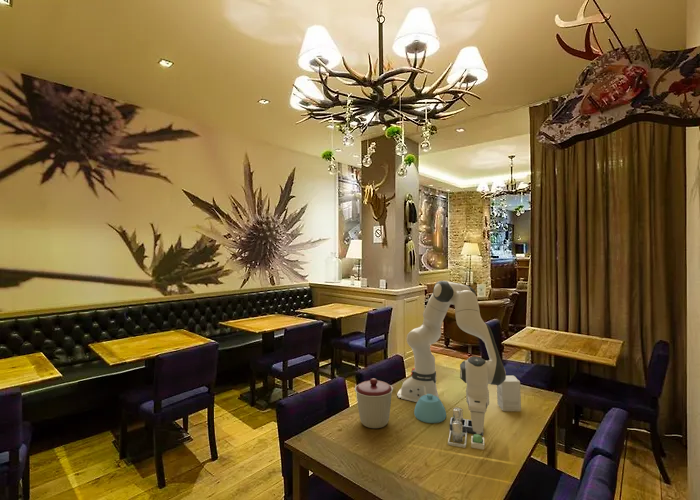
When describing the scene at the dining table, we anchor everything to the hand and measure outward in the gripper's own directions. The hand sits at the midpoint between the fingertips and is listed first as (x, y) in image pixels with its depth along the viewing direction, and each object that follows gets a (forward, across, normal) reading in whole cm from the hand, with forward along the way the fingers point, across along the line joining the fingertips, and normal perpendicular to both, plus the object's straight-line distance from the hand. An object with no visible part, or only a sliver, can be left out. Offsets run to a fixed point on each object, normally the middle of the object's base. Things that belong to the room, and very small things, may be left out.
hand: (478, 432), depth 145 cm
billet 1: (+5, -12, -9) cm, 16 cm away
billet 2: (+6, -1, -8) cm, 10 cm away
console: (+6, 0, 0) cm, 6 cm away
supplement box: (+6, -43, +14) cm, 46 cm away
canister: (+6, -6, -46) cm, 47 cm away
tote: (+6, -1, -8) cm, 10 cm away
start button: (+4, 0, 0) cm, 4 cm away
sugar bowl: (+6, -19, -22) cm, 30 cm away
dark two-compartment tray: (+6, -12, -5) cm, 15 cm away
